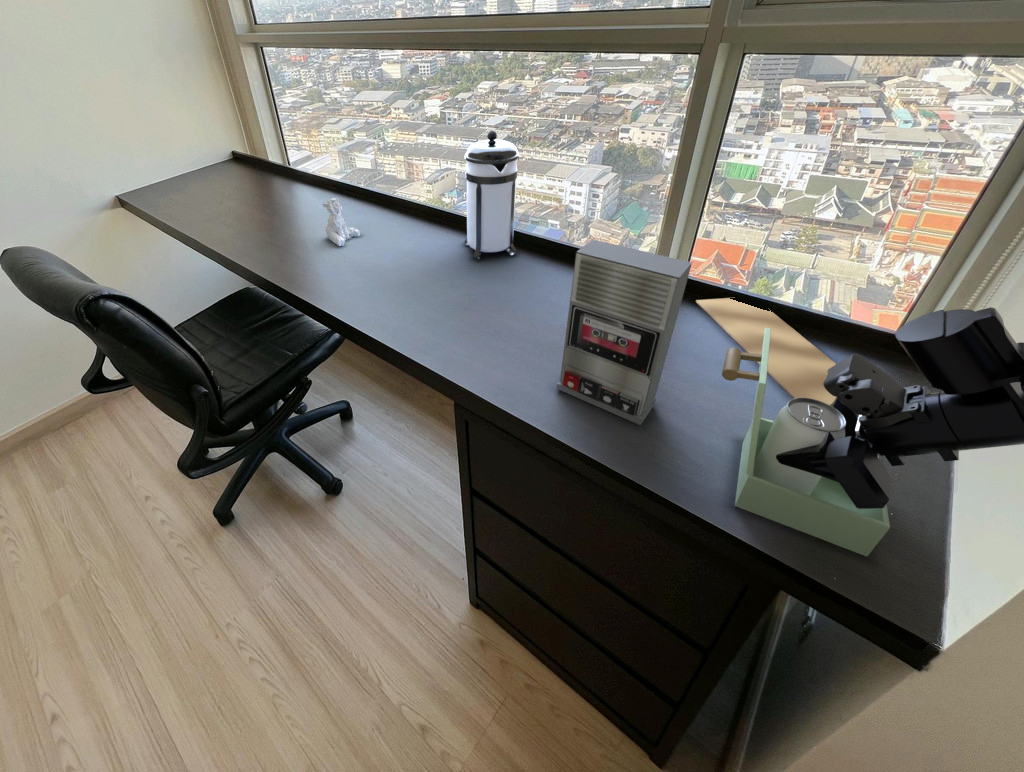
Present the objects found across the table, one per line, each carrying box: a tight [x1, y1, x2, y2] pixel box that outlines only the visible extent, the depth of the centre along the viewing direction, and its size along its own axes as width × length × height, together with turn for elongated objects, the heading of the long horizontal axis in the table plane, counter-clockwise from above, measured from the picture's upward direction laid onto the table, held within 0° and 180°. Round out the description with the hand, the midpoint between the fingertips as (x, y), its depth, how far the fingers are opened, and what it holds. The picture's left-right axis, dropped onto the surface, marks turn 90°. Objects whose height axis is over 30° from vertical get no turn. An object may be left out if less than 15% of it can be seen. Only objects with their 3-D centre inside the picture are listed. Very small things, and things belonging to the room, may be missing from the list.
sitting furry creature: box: [322, 197, 361, 247], centre depth 136 cm, size 10×9×12 cm
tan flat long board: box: [695, 297, 837, 405], centre depth 85 cm, size 36×12×1 cm, turn 2°
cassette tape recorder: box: [556, 239, 693, 426], centre depth 71 cm, size 14×6×25 cm, turn 49°
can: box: [753, 398, 846, 496], centre depth 59 cm, size 6×6×12 cm
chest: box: [734, 416, 891, 557], centre depth 60 cm, size 13×12×6 cm
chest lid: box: [721, 328, 771, 476], centre depth 59 cm, size 14×12×4 cm
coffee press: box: [464, 130, 520, 261], centre depth 121 cm, size 17×16×30 cm
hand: (783, 443), depth 60 cm, fingers closed on can, 6 cm apart
